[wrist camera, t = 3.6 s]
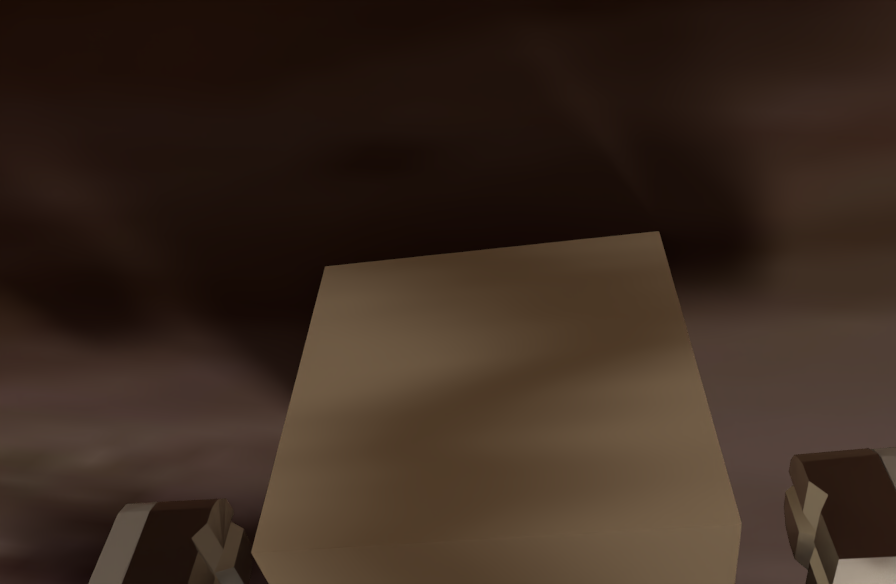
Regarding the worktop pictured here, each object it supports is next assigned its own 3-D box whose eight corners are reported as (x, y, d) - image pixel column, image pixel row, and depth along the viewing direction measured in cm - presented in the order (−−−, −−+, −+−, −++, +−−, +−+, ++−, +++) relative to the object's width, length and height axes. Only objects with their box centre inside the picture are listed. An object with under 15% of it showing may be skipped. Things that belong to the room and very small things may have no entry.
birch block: (657, 227, 12) (742, 524, 8) (657, 448, 15) (716, 737, 11) (325, 264, 12) (251, 552, 8) (392, 467, 15) (360, 745, 12)
